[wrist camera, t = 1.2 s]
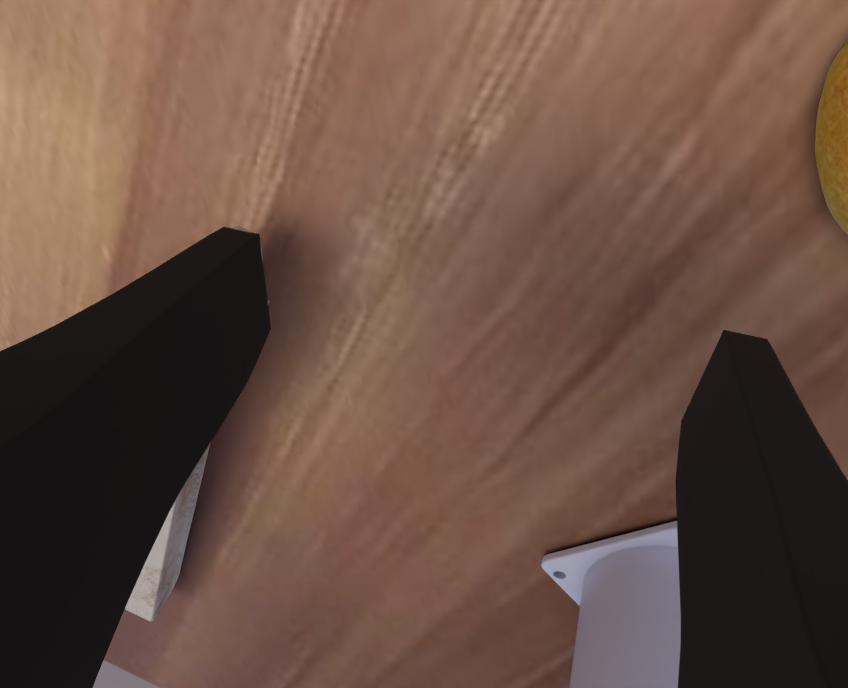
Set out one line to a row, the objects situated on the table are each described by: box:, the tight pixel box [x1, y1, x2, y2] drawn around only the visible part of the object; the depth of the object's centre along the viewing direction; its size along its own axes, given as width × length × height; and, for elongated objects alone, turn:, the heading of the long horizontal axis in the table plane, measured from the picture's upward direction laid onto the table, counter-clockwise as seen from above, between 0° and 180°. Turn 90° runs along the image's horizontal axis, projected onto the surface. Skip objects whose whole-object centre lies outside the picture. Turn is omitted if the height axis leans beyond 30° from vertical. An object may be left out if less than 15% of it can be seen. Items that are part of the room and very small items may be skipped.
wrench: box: [125, 226, 270, 622], centre depth 31 cm, size 8×2×30 cm
